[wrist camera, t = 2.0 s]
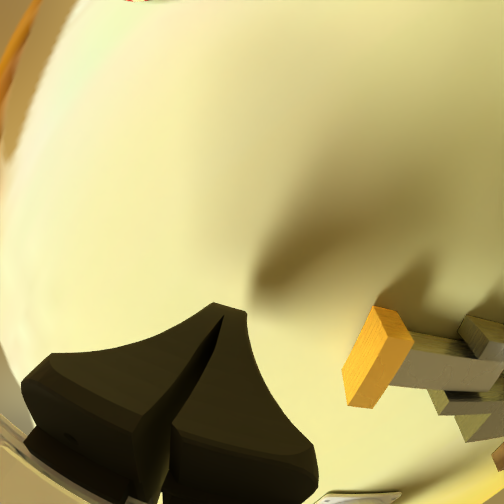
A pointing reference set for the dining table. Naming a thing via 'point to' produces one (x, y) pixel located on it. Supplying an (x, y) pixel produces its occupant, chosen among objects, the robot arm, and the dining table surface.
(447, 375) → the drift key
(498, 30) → the dining table surface
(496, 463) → the frame
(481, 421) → the socket block
